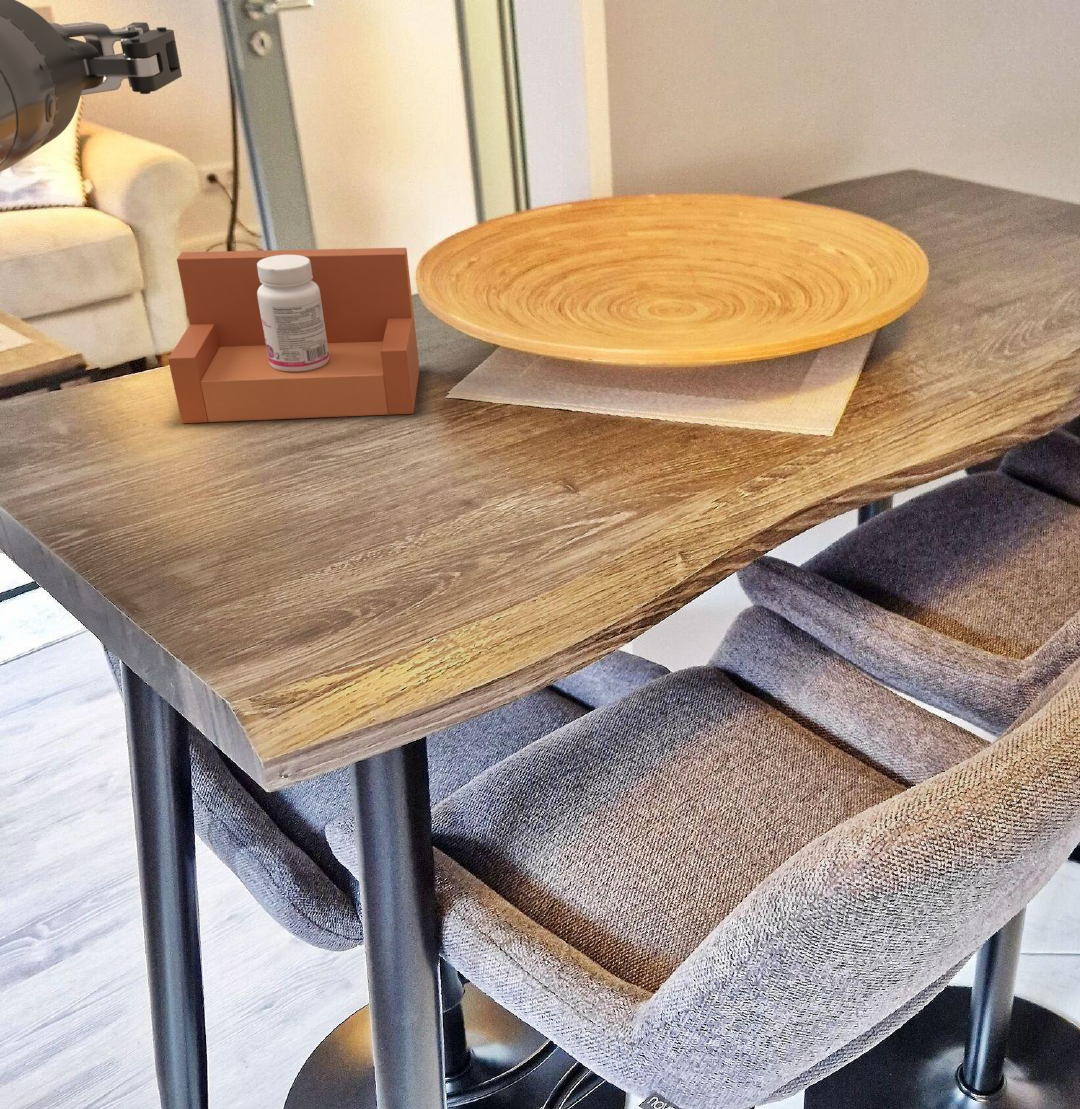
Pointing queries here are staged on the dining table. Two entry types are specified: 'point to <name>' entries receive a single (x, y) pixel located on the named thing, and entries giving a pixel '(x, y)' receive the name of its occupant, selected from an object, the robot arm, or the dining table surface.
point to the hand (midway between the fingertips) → (68, 41)
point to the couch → (351, 329)
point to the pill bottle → (291, 314)
